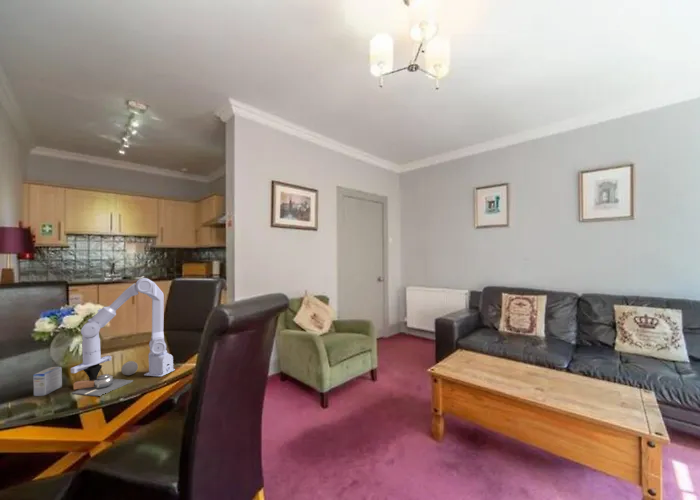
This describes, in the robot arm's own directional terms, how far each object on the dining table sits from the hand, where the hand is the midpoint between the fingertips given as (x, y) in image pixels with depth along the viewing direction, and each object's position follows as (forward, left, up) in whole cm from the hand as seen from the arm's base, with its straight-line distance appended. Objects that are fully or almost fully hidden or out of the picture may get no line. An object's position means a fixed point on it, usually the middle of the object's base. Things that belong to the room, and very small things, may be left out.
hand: (92, 383), depth 128 cm
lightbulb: (+4, -18, 0) cm, 18 cm away
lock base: (-5, -1, -1) cm, 5 cm away
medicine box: (+15, +6, -2) cm, 16 cm away
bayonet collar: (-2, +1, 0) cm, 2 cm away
